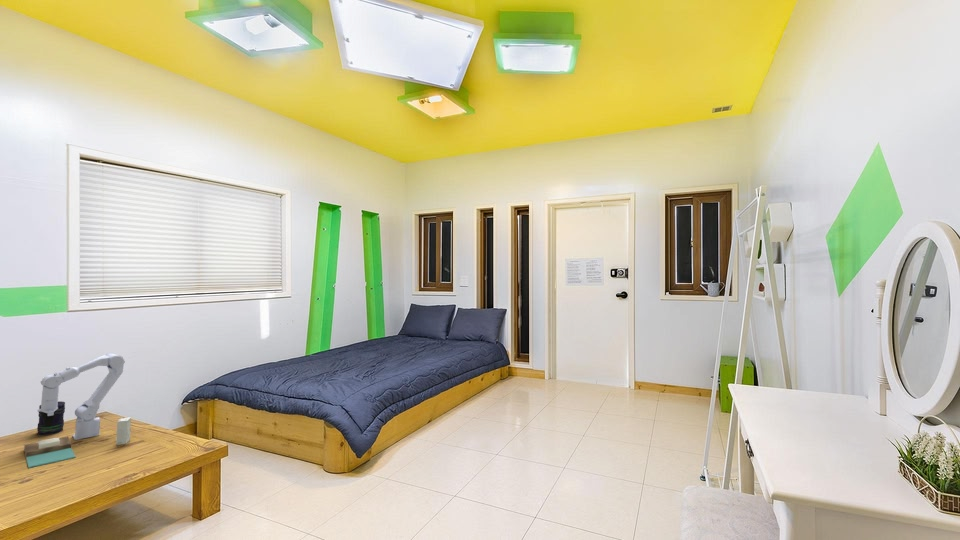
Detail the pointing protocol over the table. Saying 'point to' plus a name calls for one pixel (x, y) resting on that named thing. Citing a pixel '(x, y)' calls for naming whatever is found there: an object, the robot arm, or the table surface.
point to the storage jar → (57, 422)
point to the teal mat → (50, 457)
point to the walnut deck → (34, 450)
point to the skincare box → (123, 431)
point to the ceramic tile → (48, 443)
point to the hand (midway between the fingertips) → (47, 426)
